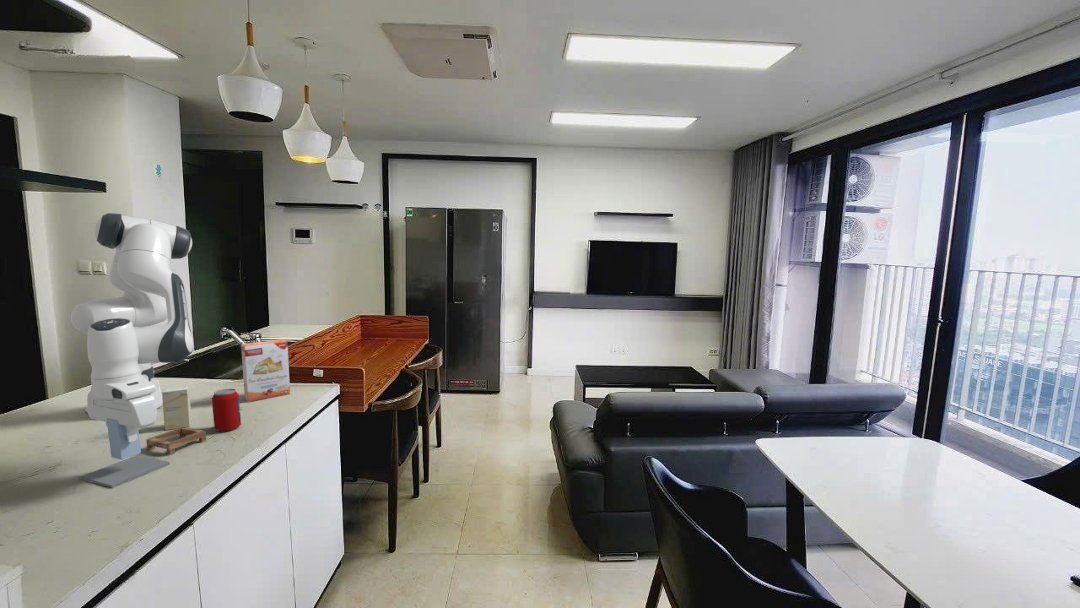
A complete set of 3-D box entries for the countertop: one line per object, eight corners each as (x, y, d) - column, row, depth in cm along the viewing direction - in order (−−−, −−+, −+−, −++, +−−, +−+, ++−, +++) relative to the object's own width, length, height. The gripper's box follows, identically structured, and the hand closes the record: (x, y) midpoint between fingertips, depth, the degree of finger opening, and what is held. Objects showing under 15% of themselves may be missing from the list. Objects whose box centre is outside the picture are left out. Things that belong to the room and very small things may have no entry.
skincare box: (164, 430, 133) (160, 392, 131) (167, 425, 137) (163, 388, 135) (190, 426, 136) (187, 389, 135) (192, 421, 140) (189, 385, 138)
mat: (80, 478, 105) (80, 476, 105) (139, 456, 117) (139, 454, 117) (111, 487, 101) (111, 485, 101) (169, 464, 113) (169, 461, 113)
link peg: (111, 457, 107) (106, 418, 106) (130, 450, 111) (126, 412, 110) (121, 459, 106) (116, 420, 105) (141, 452, 110) (136, 414, 109)
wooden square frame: (147, 449, 121) (146, 439, 120) (184, 436, 129) (183, 426, 129) (170, 455, 118) (169, 444, 117) (206, 440, 126) (205, 431, 126)
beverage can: (246, 424, 138) (243, 388, 137) (229, 433, 131) (226, 395, 130) (226, 423, 139) (223, 387, 137) (208, 432, 132) (205, 394, 130)
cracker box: (248, 402, 157) (243, 346, 155) (244, 398, 162) (240, 343, 159) (291, 394, 167) (287, 340, 164) (286, 390, 171) (283, 338, 169)
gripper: (75, 384, 107) (82, 438, 108) (129, 394, 100) (135, 451, 102) (107, 377, 113) (113, 428, 114) (160, 386, 106) (165, 439, 108)
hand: (124, 439), depth 108 cm, fingers closed on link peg, 4 cm apart
